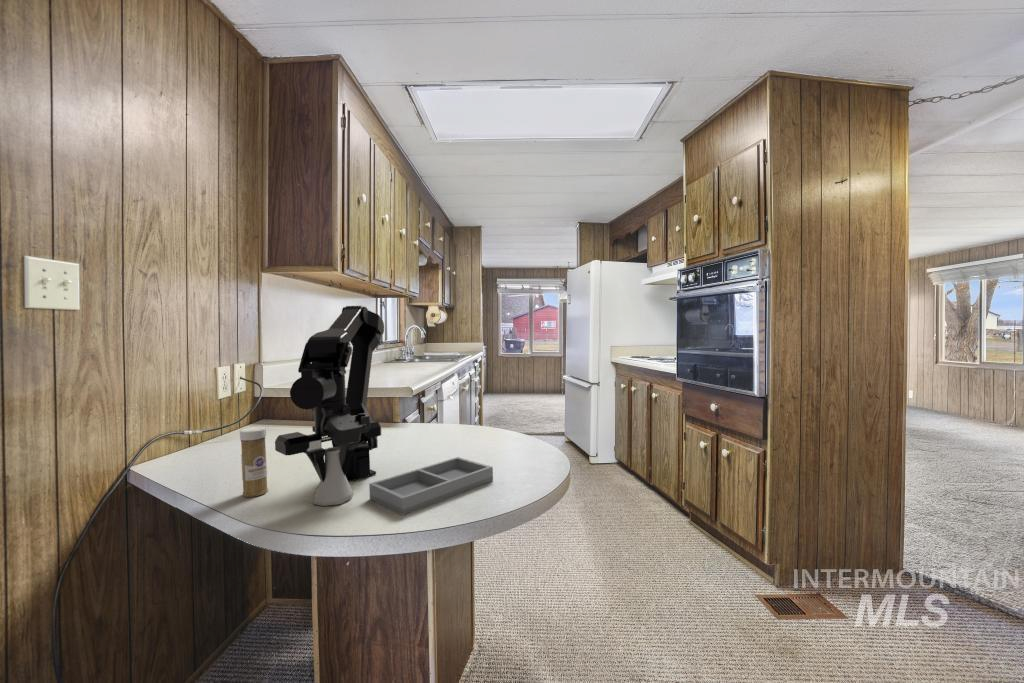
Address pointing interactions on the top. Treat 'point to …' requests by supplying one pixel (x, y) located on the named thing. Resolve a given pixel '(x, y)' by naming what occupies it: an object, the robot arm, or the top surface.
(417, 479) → the tray
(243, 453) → the sprinkles bottle
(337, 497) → the flask
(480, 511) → the top surface
